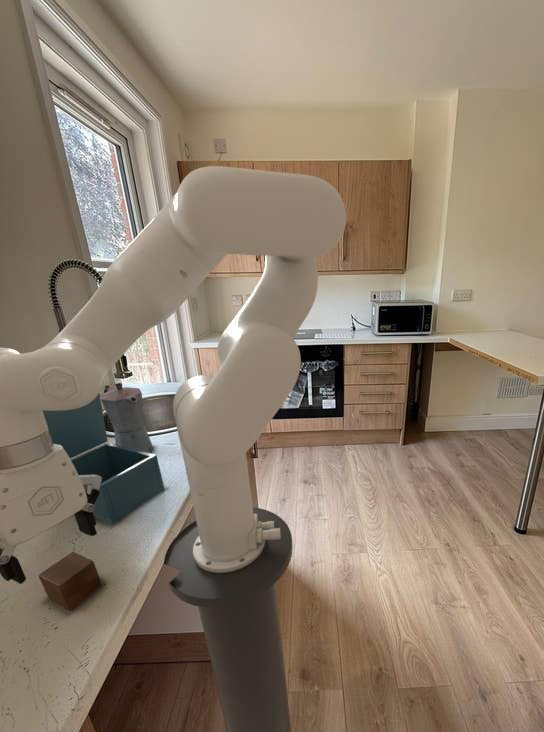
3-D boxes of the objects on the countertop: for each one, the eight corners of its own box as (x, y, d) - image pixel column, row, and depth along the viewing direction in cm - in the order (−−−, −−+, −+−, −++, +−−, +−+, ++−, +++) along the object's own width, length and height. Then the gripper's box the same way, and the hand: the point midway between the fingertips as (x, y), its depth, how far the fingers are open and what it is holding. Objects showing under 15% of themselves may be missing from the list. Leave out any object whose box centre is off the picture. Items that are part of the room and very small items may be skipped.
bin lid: (96, 374, 73) (78, 367, 75) (28, 392, 62) (9, 385, 64) (107, 441, 80) (91, 434, 82) (48, 468, 70) (31, 459, 71)
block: (81, 574, 56) (72, 551, 54) (102, 584, 55) (93, 560, 53) (49, 599, 52) (37, 575, 50) (70, 611, 50) (59, 586, 48)
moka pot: (135, 467, 87) (114, 392, 80) (100, 453, 95) (78, 383, 87) (167, 451, 95) (151, 381, 87) (133, 439, 102) (115, 373, 94)
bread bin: (164, 489, 78) (156, 454, 75) (112, 525, 67) (100, 486, 64) (116, 475, 84) (107, 442, 81) (62, 505, 74) (48, 469, 70)
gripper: (-63, 492, 35) (-2, 613, 41) (100, 427, 50) (127, 524, 56) (-97, 476, 38) (-35, 591, 44) (67, 419, 52) (96, 512, 59)
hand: (55, 554), depth 50 cm, fingers open, 9 cm apart
